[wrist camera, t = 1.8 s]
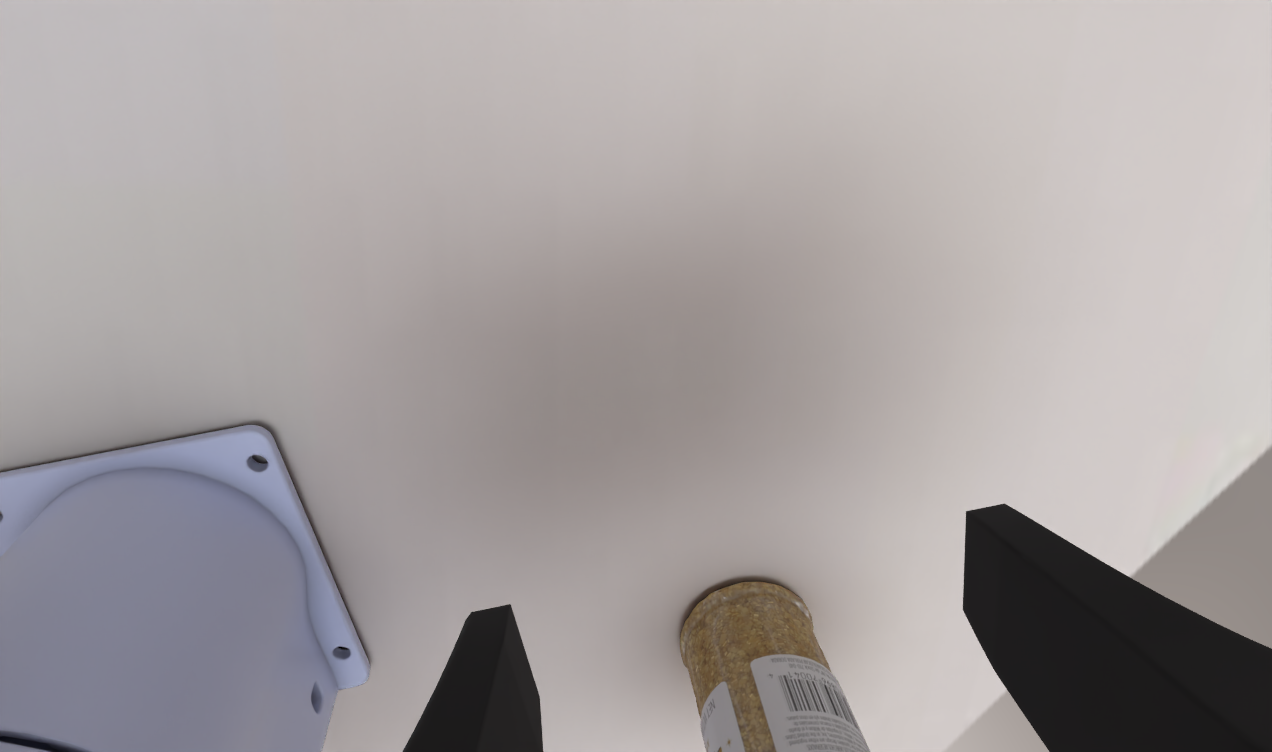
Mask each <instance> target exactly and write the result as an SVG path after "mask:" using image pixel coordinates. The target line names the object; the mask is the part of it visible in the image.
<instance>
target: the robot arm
mask: <svg viewBox="0 0 1272 752" xmlns="http://www.w3.org/2000/svg"><path fill="white" fill-rule="evenodd" d="M253 455H260V456H262V457H264V458H265V459H266V460H267V461H268V463H266V464H260V463H258V462H255V461H254V459H253V458H252V456H253ZM0 512H1V513H2V514H0V752H322V748H323V744H324V740H325V737H326V733H327V729H328V725H329V722H330V718H331V714H332V711H333V707H334V703H335V699H336V696H337V692H338V690H341V689H346V688H351V687H355V686H359V685H362V684H364V683H365V682H366V681H367V679H368V677H369V673H370V663H369V661H368V659H367V656H366V654H365V652H364V649H363V647H362V645H361V642H360V640H359V638H358V635H357V633H356V631H355V628H354V626H353V624H352V621H351V619H350V617H349V614H348V612H347V609H346V607H345V605H344V602H343V600H342V598H341V595H340V593H339V591H338V588H337V586H336V584H335V581H334V579H333V577H332V574H331V572H330V570H329V567H328V565H327V563H326V560H325V558H324V555H323V553H322V551H321V548H320V546H319V544H318V541H317V539H316V537H315V534H314V532H313V530H312V527H311V525H310V523H309V520H308V518H307V516H306V513H305V511H304V509H303V506H302V504H301V501H300V499H299V497H298V494H297V492H296V490H295V487H294V485H293V483H292V480H291V478H290V476H289V473H288V471H287V469H286V466H285V464H284V462H283V459H282V457H281V454H280V452H279V450H278V447H277V445H276V443H275V440H274V438H273V436H272V435H271V433H270V432H269V431H268V430H266V429H265V428H263V427H261V426H257V425H245V426H240V427H235V428H229V429H224V430H219V431H214V432H209V433H204V434H198V435H193V436H188V437H183V438H178V439H172V440H167V441H162V442H157V443H152V444H146V445H141V446H136V447H131V448H126V449H121V450H115V451H110V452H105V453H100V454H95V455H89V456H84V457H79V458H74V459H69V460H63V461H58V462H53V463H48V464H43V465H38V466H32V467H27V468H22V469H17V470H12V471H6V472H1V473H0ZM963 611H964V613H965V615H966V617H967V619H968V621H969V623H970V625H971V627H972V629H973V631H974V633H975V635H976V637H977V639H978V641H979V643H980V644H981V646H982V648H983V650H984V652H985V654H986V656H987V658H988V659H989V661H990V663H991V665H992V667H993V669H994V670H995V672H996V673H997V675H998V676H999V678H1000V679H1001V681H1002V682H1003V684H1004V685H1005V687H1006V688H1007V690H1008V691H1009V693H1010V694H1011V696H1012V697H1013V699H1014V700H1015V702H1016V703H1017V705H1018V706H1019V708H1020V709H1021V711H1022V712H1023V714H1024V715H1025V717H1026V718H1027V719H1028V721H1029V722H1030V723H1031V725H1032V726H1033V728H1034V730H1035V731H1036V733H1037V734H1038V736H1039V737H1040V738H1041V740H1042V741H1043V743H1044V744H1045V745H1046V747H1047V749H1048V750H1049V752H1272V649H1271V648H1269V647H1266V646H1264V645H1262V644H1259V643H1257V642H1255V641H1253V640H1250V639H1248V638H1246V637H1244V636H1242V635H1240V634H1238V633H1235V632H1233V631H1231V630H1229V629H1227V628H1225V627H1223V626H1221V625H1219V624H1217V623H1215V622H1213V621H1210V620H1209V619H1207V618H1205V617H1203V616H1201V615H1199V614H1197V613H1195V612H1193V611H1191V610H1189V609H1187V608H1185V607H1183V606H1181V605H1179V604H1178V603H1175V602H1174V601H1172V600H1170V599H1168V598H1166V597H1164V596H1162V595H1161V594H1158V593H1157V592H1155V591H1153V590H1151V589H1149V588H1148V587H1146V586H1144V585H1142V584H1140V583H1139V582H1137V581H1135V580H1133V579H1132V578H1130V577H1128V576H1126V575H1124V574H1123V573H1121V572H1119V571H1117V570H1116V569H1114V568H1112V567H1110V566H1109V565H1107V564H1105V563H1104V562H1102V561H1100V560H1098V559H1097V558H1095V557H1093V556H1092V555H1090V554H1088V553H1087V552H1085V551H1083V550H1082V549H1080V548H1078V547H1077V546H1075V545H1073V544H1072V543H1070V542H1068V541H1067V540H1065V539H1063V538H1062V537H1060V536H1058V535H1057V534H1055V533H1053V532H1052V531H1050V530H1048V529H1047V528H1045V527H1043V526H1042V525H1040V524H1038V523H1037V522H1035V521H1033V520H1032V519H1030V518H1028V517H1027V516H1025V515H1023V514H1022V513H1020V512H1018V511H1016V510H1015V509H1013V508H1011V507H1009V506H1008V505H1006V504H1000V505H996V506H991V507H986V508H981V509H976V510H971V511H966V533H965V563H964V593H963ZM338 647H346V648H348V649H347V650H342V649H339V648H338ZM403 752H543V742H542V725H541V711H540V697H539V693H538V690H537V687H536V684H535V681H534V678H533V674H532V671H531V668H530V665H529V662H528V659H527V655H526V652H525V649H524V646H523V643H522V640H521V636H520V633H519V630H518V627H517V624H516V621H515V617H514V614H513V611H512V608H511V605H505V606H500V607H495V608H490V609H485V610H480V611H475V612H471V614H470V615H469V616H468V618H467V619H466V621H465V623H464V626H463V628H462V630H461V633H460V635H459V638H458V640H457V642H456V644H455V647H454V649H453V651H452V654H451V656H450V658H449V660H448V662H447V665H446V667H445V669H444V671H443V673H442V675H441V678H440V680H439V682H438V684H437V686H436V688H435V690H434V692H433V694H432V696H431V698H430V700H429V702H428V704H427V706H426V708H425V710H424V712H423V714H422V716H421V718H420V720H419V722H418V724H417V726H416V728H415V730H414V732H413V733H412V735H411V737H410V739H409V741H408V743H407V745H406V746H405V748H404V750H403Z"/></svg>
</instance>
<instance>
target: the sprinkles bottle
mask: <svg viewBox="0 0 1272 752" xmlns="http://www.w3.org/2000/svg"><path fill="white" fill-rule="evenodd" d="M680 650H681V656H682V659H683V663H684V665H685V666H686V667H687V668H688V671H689V674H690V678H691V682H692V686H693V690H694V694H695V697H696V702H697V707H698V712H699V715H700V718H701V731H702V736H703V740H704V744H705V748H706V752H870V750H869V748H868V746H867V744H866V741H865V739H864V737H863V735H862V733H861V730H860V728H859V726H858V724H857V722H856V720H855V717H854V715H853V713H852V711H851V709H850V706H849V704H848V702H847V700H846V697H845V695H844V693H843V691H842V689H841V687H840V685H839V683H838V681H837V679H836V678H835V676H834V675H833V674H832V673H831V670H830V668H829V665H828V663H827V661H826V658H825V656H824V654H823V652H822V650H821V648H820V646H819V644H818V642H817V639H816V637H815V635H814V633H813V623H812V617H811V615H810V613H809V611H808V609H807V607H806V605H805V604H804V602H803V601H802V600H801V599H800V598H799V597H798V596H797V595H795V594H794V593H793V592H791V591H790V590H788V589H784V588H783V587H782V586H779V585H775V584H770V583H764V582H742V583H738V584H734V585H731V586H728V587H725V588H722V589H720V590H717V591H715V592H713V593H710V594H709V595H708V596H707V597H706V598H705V599H704V600H702V601H701V602H699V603H698V604H697V606H696V607H695V608H694V609H693V611H692V612H691V614H690V616H689V617H688V618H687V620H686V621H685V623H684V626H683V629H682V631H681V635H680Z"/></svg>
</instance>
